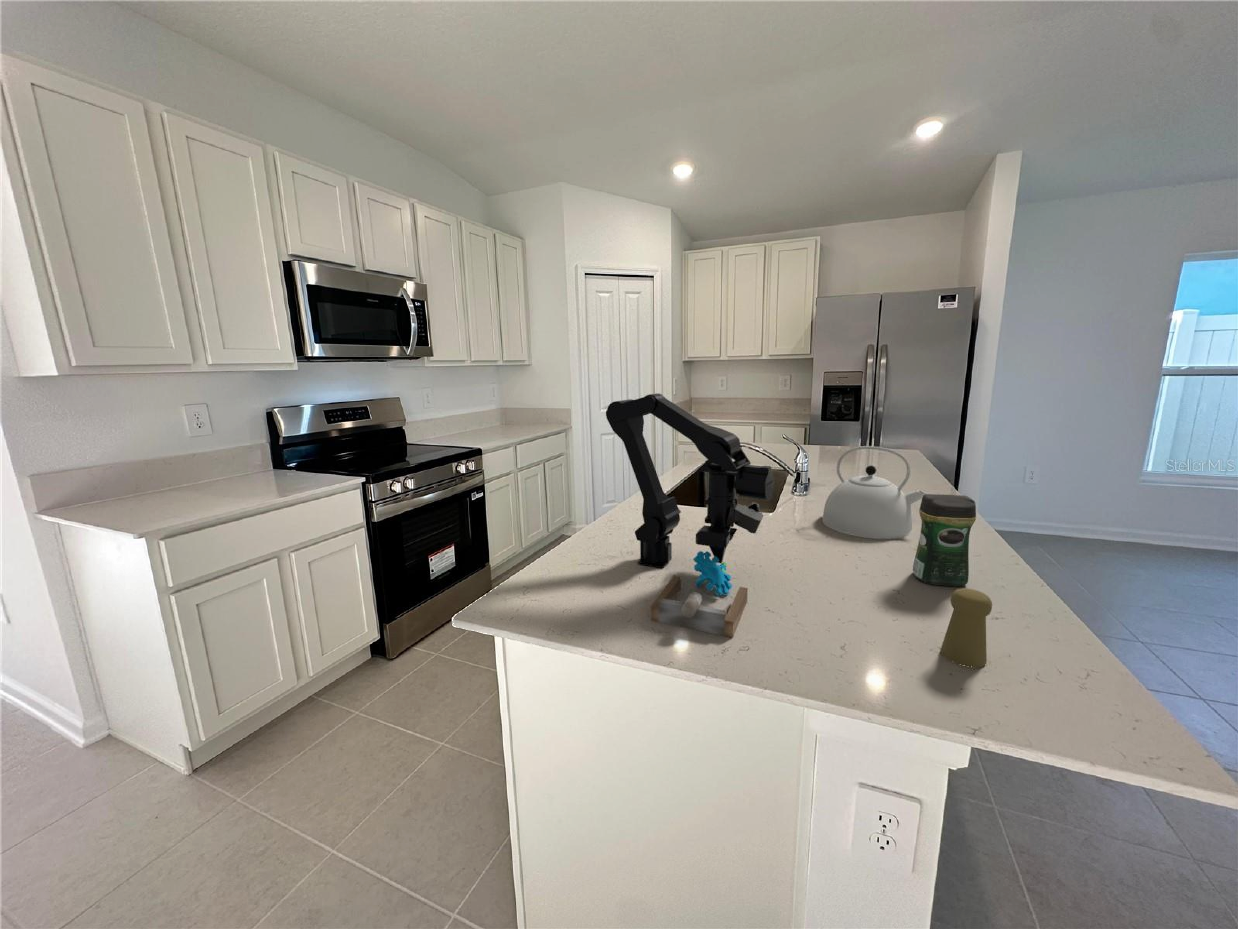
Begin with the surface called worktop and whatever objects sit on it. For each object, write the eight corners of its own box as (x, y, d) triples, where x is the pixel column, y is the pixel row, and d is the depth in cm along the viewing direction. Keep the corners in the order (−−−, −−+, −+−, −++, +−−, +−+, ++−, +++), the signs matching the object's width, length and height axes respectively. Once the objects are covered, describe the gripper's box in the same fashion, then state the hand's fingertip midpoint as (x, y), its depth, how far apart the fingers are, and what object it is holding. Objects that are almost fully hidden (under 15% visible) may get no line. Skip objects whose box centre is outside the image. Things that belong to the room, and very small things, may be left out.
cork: (931, 646, 80) (939, 584, 77) (966, 644, 80) (975, 582, 78) (959, 669, 74) (969, 603, 71) (996, 666, 74) (1007, 600, 72)
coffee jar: (956, 573, 106) (968, 491, 102) (972, 590, 98) (985, 502, 94) (907, 569, 108) (916, 489, 104) (919, 585, 101) (929, 499, 97)
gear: (718, 598, 93) (690, 553, 97) (698, 612, 96) (670, 568, 100) (743, 584, 102) (716, 544, 105) (723, 598, 105) (697, 558, 108)
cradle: (647, 624, 88) (647, 596, 86) (673, 588, 101) (674, 564, 100) (730, 643, 81) (731, 613, 80) (747, 602, 95) (748, 576, 94)
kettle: (923, 521, 139) (933, 443, 134) (920, 547, 121) (931, 458, 116) (830, 508, 153) (835, 437, 148) (814, 529, 134) (820, 449, 129)
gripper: (753, 510, 90) (750, 587, 94) (767, 485, 107) (763, 551, 110) (695, 504, 94) (694, 578, 98) (716, 481, 111) (715, 545, 115)
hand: (719, 562), depth 105 cm, fingers closed
